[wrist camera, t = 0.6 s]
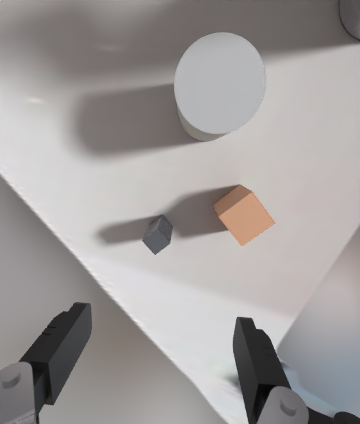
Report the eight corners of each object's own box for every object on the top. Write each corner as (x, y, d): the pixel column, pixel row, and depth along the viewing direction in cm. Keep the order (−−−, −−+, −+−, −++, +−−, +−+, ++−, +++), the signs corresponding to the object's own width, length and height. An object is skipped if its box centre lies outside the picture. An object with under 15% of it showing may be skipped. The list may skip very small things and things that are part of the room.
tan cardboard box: (239, 184, 34) (252, 191, 27) (259, 210, 35) (275, 223, 28) (212, 205, 35) (218, 216, 28) (231, 229, 36) (241, 246, 29)
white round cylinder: (167, 116, 32) (156, 95, 20) (202, 65, 30) (213, 9, 18) (211, 152, 33) (225, 152, 21) (248, 104, 31) (285, 75, 19)
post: (162, 214, 35) (157, 229, 29) (173, 226, 36) (169, 243, 29) (150, 224, 36) (142, 240, 29) (160, 236, 36) (154, 254, 30)
